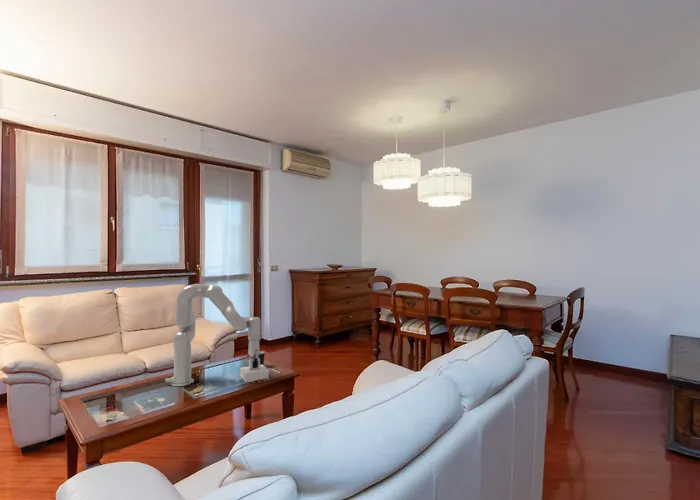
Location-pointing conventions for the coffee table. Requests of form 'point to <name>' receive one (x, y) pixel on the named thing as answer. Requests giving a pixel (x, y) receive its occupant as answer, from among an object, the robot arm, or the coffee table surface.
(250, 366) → the plug
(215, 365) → the coffee table surface
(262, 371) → the socket
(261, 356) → the coffee mug
